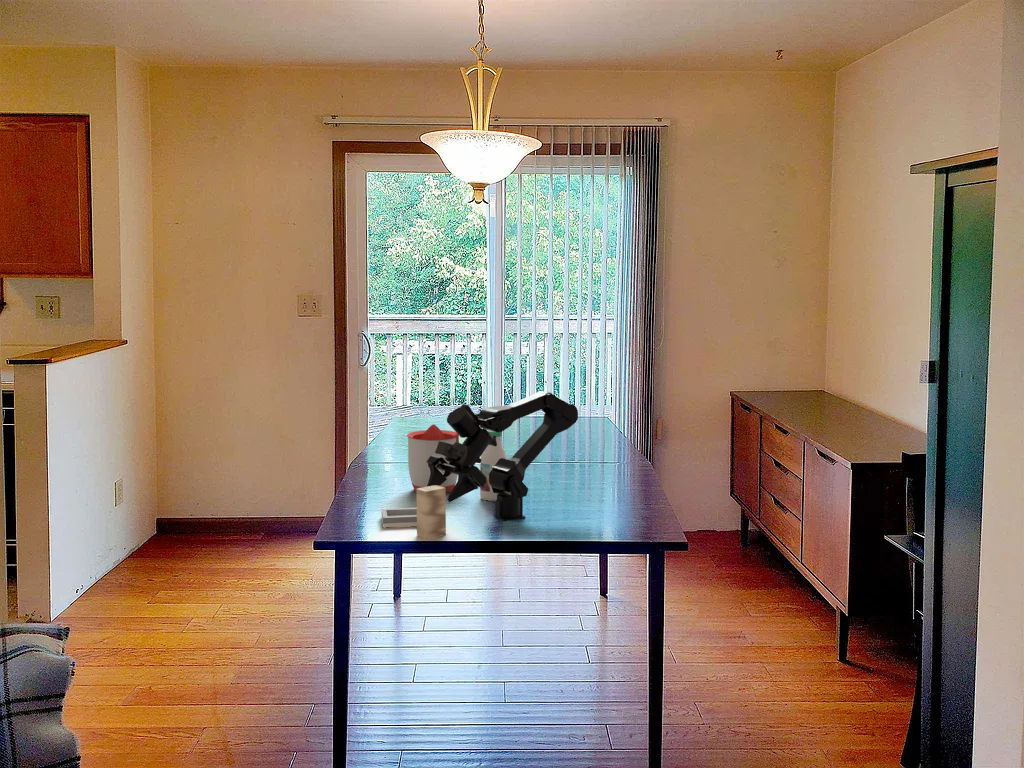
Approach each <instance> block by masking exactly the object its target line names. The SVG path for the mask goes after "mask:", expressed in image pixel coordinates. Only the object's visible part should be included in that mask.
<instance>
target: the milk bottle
mask: <svg viewBox="0 0 1024 768" xmlns="http://www.w3.org/2000/svg"><path fill="white" fill-rule="evenodd" d="M487 431H488V432H489V433H490V435H494V436H496V441H497V446H491V445H488V446H487V448H486V449H485V451H484V452H483V454H482V455H481V456H480V459H481V460H482V461H481V462H480V463H479V464H480V467H479V470H480V471H481V472H482V473H483V474H484V475H485V476H486V484H485V485H484V486H483V488H480V487H479V492H480V493H479V496H480V499H481V500H483V501H486V500H488V502H495V501H496V500H497V493H493V490H492V487H491V485H490V483H489V473H490V471H491V470H492V468H491V467H492V466H494V465H495V464H496V463H497V462H498V460H499V459H500V458H505V459H508V458H507V454H506V450H505V448H504V447H503V443H502V438H503V437H502V435H503V431H502V432H494V431H490V430H487Z"/></svg>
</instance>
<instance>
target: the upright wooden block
mask: <svg viewBox="0 0 1024 768" xmlns="http://www.w3.org/2000/svg"><path fill="white" fill-rule="evenodd" d="M446 494H447V493H446V488H444V487H441V486H438V485H433V486H428V487H422V488H417V492H416V508H417V527H416V536H417V535H418V536H417V537H419V536H420V538H422V537H423V538H422V539H424V538H425V540H429V539H432V538H433V539H434V538H438V537H442V536H443V537H444V536H446V535H447V513H446V512H447V509H446V508H447V505H446V503H447V495H446Z"/></svg>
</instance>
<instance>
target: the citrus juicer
mask: <svg viewBox="0 0 1024 768" xmlns="http://www.w3.org/2000/svg"><path fill="white" fill-rule="evenodd" d="M406 437H407V456H408V457H407V459H408V461H407V462H408V463H407V464H408V472H409V473H408V474H409V478H410V481H411V485H412V488H413V489H414V491H415V492H416V493H417V488H422V487H427V484H428V481H429V478H430V468H429V467H428V464H427V462H426V461H427V460H428V459H429V457H430V456H433V455H435V456H439V457H442V458H443V459H444V460H445V461H446V462H447V463H448V464H449V462H448V461H447V460H446V459H445V457H446V456H443V455H441V454H437V453H435V451H436V448H437V445H438V443H439V441H441V442H445V443H449V444H452V445H453V444H454V443H455V442H457V443H460V436H459V435H458V434H457V433H456V432H455V430H453V431H452V430H444V429H440V428H439V427H438V426H437V425H436V424H433V423H432V424H431V425H430V426H429V427H428V428H427V429H426V430H425V429H424V430H423V429H422V430H417V431H416V430H415V431H411V432H409V433H407V434H406ZM453 470H454V469H453ZM446 478H447V480H446V481H445V482H444V483H442V484H441V485H440V486H441V487H444V488H446V494H447V493H451V491H452V490H453V488H454V486H455V485H456V483H457V481H458V475H457V474H453V473H451V474H450V475H449V476H448V477H446Z"/></svg>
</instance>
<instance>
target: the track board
mask: <svg viewBox="0 0 1024 768" xmlns="http://www.w3.org/2000/svg"><path fill="white" fill-rule="evenodd" d="M381 522H382V523H383V524H382V528H383V527H384V528H383V529H387V528H386V527H397V528H412V527H411V526H417V507H404V508H401V507H400V508H396V507H395V508H381Z"/></svg>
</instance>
